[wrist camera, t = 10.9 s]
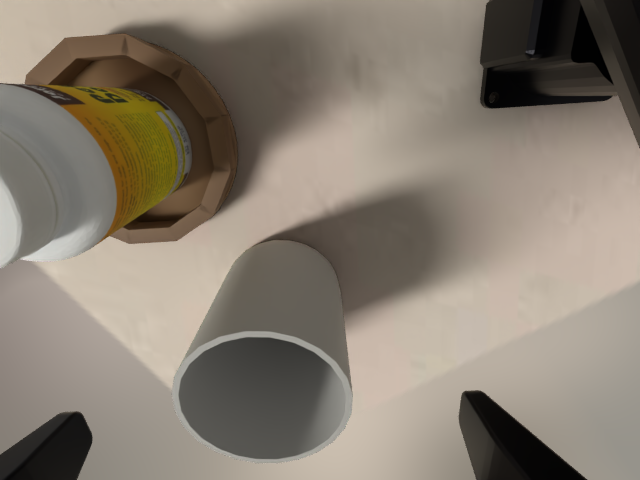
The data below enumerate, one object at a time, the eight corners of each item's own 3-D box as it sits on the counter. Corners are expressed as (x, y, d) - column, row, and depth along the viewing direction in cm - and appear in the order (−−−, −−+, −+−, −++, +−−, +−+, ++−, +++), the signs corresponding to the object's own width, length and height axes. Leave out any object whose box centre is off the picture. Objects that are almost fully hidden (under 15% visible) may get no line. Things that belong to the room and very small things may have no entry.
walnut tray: (219, 32, 16) (208, 24, 14) (250, 226, 20) (244, 238, 18) (15, 47, 16) (-19, 41, 15) (84, 237, 20) (63, 249, 18)
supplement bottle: (179, 80, 16) (-12, 62, 7) (207, 191, 18) (91, 292, 9) (68, 94, 17) (-261, 95, 7) (109, 202, 19) (-102, 311, 9)
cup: (358, 261, 21) (384, 367, 13) (298, 374, 24) (289, 513, 16) (248, 218, 20) (199, 303, 12) (202, 343, 23) (140, 476, 15)
